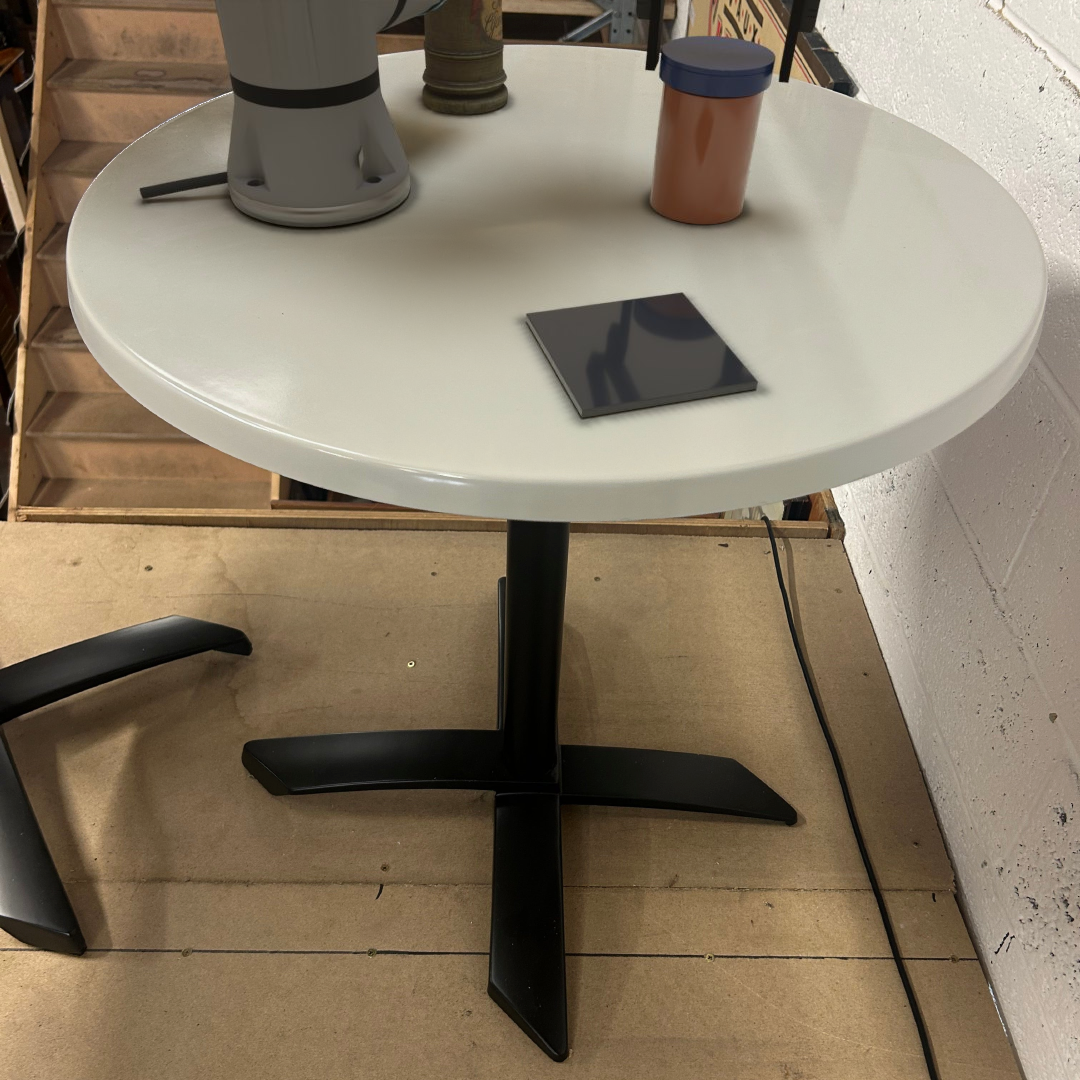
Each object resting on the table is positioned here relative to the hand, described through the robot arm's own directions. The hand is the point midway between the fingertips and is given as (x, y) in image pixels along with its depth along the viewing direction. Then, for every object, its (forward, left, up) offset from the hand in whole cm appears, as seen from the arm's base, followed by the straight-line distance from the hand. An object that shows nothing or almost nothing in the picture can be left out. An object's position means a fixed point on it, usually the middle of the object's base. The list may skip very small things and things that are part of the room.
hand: (717, 71), depth 72 cm
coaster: (-10, -23, -11) cm, 27 cm away
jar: (0, 0, -11) cm, 11 cm away
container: (-18, +27, -11) cm, 34 cm away
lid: (0, 0, +1) cm, 1 cm away
